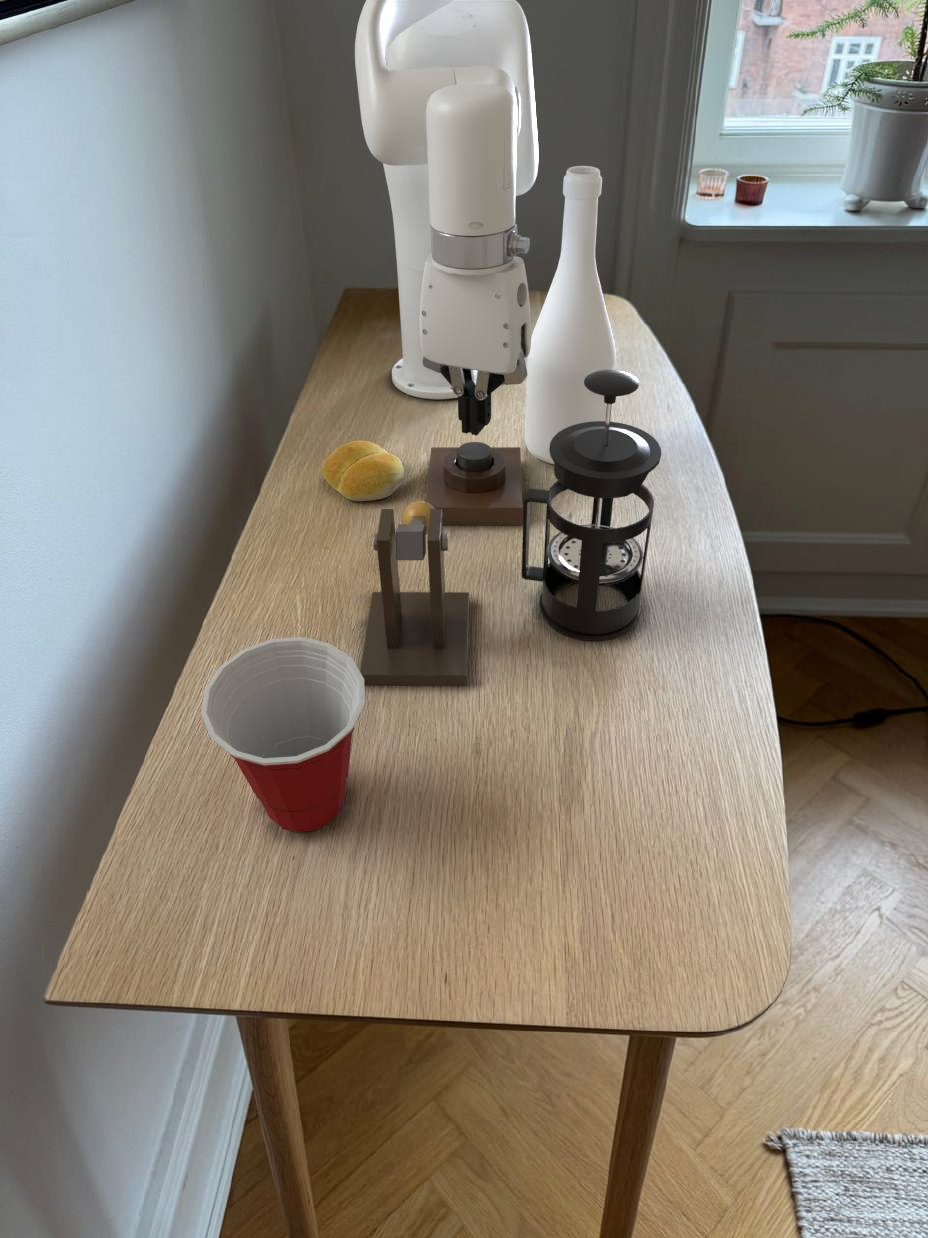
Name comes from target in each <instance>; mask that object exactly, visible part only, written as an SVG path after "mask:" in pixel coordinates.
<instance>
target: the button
mask: <svg viewBox="0 0 928 1238" xmlns="http://www.w3.org/2000/svg"><path fill="white" fill-rule="evenodd" d="M458 447H459V448H458V467H459V469H460V470H463V471H466V472H483V471H486V470H489V469H490V468H491V466H492V449H491V446H490V445H488V444H487V443H485V442H481V441H469V442H465V443H462V444H461V445H459V446H458Z"/></svg>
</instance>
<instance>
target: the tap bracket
mask: <svg viewBox="0 0 928 1238" xmlns="http://www.w3.org/2000/svg"><path fill="white" fill-rule="evenodd" d="M395 523H396V522H395V512H394V508H381V510H380V516H379V522H378V527H377V533H373V542H372V543H373V544H372V545H373V551H375V552H377V561H378V572H379V581H380V591H372V594H371V601H370V606H369V613H368V620H367V625H366V632H365V639H364V645H363V651H362V658H361V663H360V664H361V665H360V669H359V671H360V673H361V674H362V676H363V678H364V686H467V685H468V658H469V657H468V655H469V654H468V653H469V652H468V651H469V624H470V623H469V621H470V592H468V591H466V592H465V591H464V592H462V591H461V592H460V591H457V592H456V591H448V592H447V591H446V575H445V574H446V572H445V552H448V551H449V533H444V525H443V517H442V509H430V516H429V527H428V534H427V537H426V547H427V563H428V581H429V591H401V586H400V575H399V574H400V573H399V560H396V524H395Z"/></svg>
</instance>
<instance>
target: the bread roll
mask: <svg viewBox="0 0 928 1238" xmlns="http://www.w3.org/2000/svg"><path fill="white" fill-rule="evenodd" d="M404 470H405V469H404V466H403V463H402V460H401V459H400V458H399V457H398V456H396V455H394V454H392V453H390V452H389V453H388V452H387V451H386V450H385V449H384V448H383V447H382V446H380V445H378V444H376V443H374V442H372V441H368V440H352V441H350V442H346V443H344V444H342V445H340V446H338V447H337V448H336V449H335V450H334V451H333V452H331V453H330V454H329V455H328V457H327V458H326V460H325V462H324V463H323V467H322V475H323V477H324V479H325V482H327V484H328V485H329V486H330V487H331V488H332V489H333V490H335V491H336V492H338V493H340V495H341V496H343V497H344V498H346V499H347V500H349V501H351V502H369V501H378V500H382V499H385V498H388V497H390V496H391V495H393V494H394V493H395V492H397V491H398V490H399V488H400V487H401V485H402V484H403V481H404V478H405V471H404Z"/></svg>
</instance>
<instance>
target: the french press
mask: <svg viewBox="0 0 928 1238" xmlns="http://www.w3.org/2000/svg"><path fill="white" fill-rule="evenodd" d="M584 385H585V387H586V388H587V389H588V390H590V391H591V392H593V393H596V394H599V395H603V396H604V402H605V403H606V404H607V410H606V420H605V421H593V422H585V423H579V424H576V425H572V426H569V427H567V428H565V429H563V430H561V431H560V432H558V433H557V434H556V435H555V436H554V437H553V438H552V440H551V442H550V448H549V452H550V456H551V458H552V460H553V461H554V464H553V473H554V477H555V478H556V481H555V482H554V483H553V484H552V485H551V486H550V487H549V489H545V488H544V489H542V488H535V487H534V488H533V487H529V488H528V489H527V490H526V493H525V496H524V499H523V518H522V547H521V578H522V579H523V580H527V581H533V582H534V581H535V582H540V583H541V582H542V586H541V593H540V596H539V601H538V607H539V612H540V615H541V617H542V619H543V620H544V621H545V623H546V624H547V625H548V626H549V627H551V629H553V630H555V631H556V632H558V633H559V634H562V635H563V636H565V637H569V638H571V639H576V640H580V641H588V642H589V641H590V642H599V641H608V640H612V639H616V638H618V637H621V636H623V635H625V634H627V633H628V632H630V631H631V630H632V629H633V628H634V627H635V626H636V625H637V623H638V622H639V620H640V618H641V614H642V603H641V599H642V592H643V591H642V590H643V584H644V578H645V569H646V562H647V556H648V549H649V544H650V543H649V542H650V536H651V528H652V521H653V514H654V507H655V499H654V497H653V494H652V492H651V491H650V490H649V488H648V487H646V485H644V484H643V483H644V482H645V480H646V478H647V477H648V475H649V473H651V472H652V471H653V470H655V469H656V468H657V466H658V465H659V464H660V461H661V459H662V448H661V447H660V443H659V441H657V439H656V438H655V437H653V436H652V435H651V434H650V433H649V432H647V431H644V430H642V429H641V428H639V427H636V426H633V425H632V424H631V425H630V424H627V423H622V422H615V421H611V418H612V417H611V416H612V407H613V406H612V405H614V404H616V401H617V397H623V396H628V395H631V394H633V393H634V392H636V391H637V390H638V389H639V387H640V382H639V380H638V378H637V377H636V376H635V375H633V374H631V373H629V372H626V371H623V370H618V369H615V370H600V371H596V372H593V373H591V374H589V375H587V376H586V378H585V380H584ZM567 490H569V491H571V492H573V493H575V494H578V495H582V496H585V497H589V498H593V500H592V501H593V502H592V512H591V522H590V523H591V524H577V523H574V522H572V521H570V520H567V519H565V518H564V517H563V516H561V515H560V514H558V512H557V511H555V510H554V507H552V501H554V499H555V498H556V496H558V495H560V494H561V493H563V492H564V491H567ZM630 495H635V496H637V497H638V498H639V499H640V500H641V501H643V503H644V504H645V505H646V507H647V509H648V512H647V514H646V515H644V517H642V518H641V519H640V520H637V521H636V522H633V523H632V524H629V525H625V526H621V527H612V525H611V524H612V523H611V522H612V514H613V507H614V506H613V505H614V499H620V498H625V497H628V496H630ZM531 503H535V504H536V503H537V504H545V505H546V507H545V508H546V509H545V525H544V526H545V528H544V546H543V547H544V548H543V567H541V566H535V565H534V566H533V565H530V564H529V552H530V551H529V550H530V529H531V528H530V526H531V525H530V524H531ZM551 525H552V526H553V527H554V528H555V529H556V530H557V531H559V532H558V533H557V534H555V535H554V536H553V537H552V538H551V539H550V534H551ZM645 531H646V535H645V543H644V550H643V549H642V546H641V544H640V543H639V542H638V541H637V540H636V538H635V537H637V536H639V535H641V534H642V533H644V532H645ZM640 567H641V571H639V569H640ZM572 584H577V593H576V604H575V606H573V605H570V604H568V603H566V602H563V601H562V600H560V599H559V598H557V597H556V595H557V593H558V592H559V591H561V590H562V589H563V588H565V587H567V586H569V585H572ZM606 586H609V587H610V588H613V589H614V590H615V591H617V592H619V594H621V596H622V597H623V598H624V600H625V602H626V603H624V604H622V605H619V606H616V607H612V608H607V609H598V607H597V605H598V598H599V597H598V596H599V588H600V587H606Z"/></svg>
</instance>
